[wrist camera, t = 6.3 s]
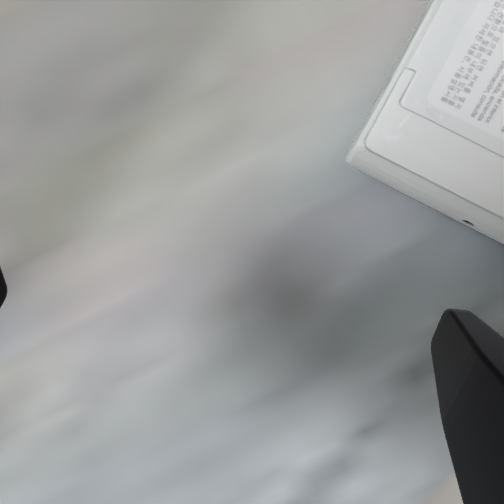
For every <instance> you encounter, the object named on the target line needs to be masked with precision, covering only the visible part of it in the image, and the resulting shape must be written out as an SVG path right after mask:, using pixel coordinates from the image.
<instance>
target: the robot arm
mask: <svg viewBox="0 0 504 504" xmlns="http://www.w3.org/2000/svg"><path fill="white" fill-rule="evenodd" d="M6 295H7V285H6V282H5V279H4V276H3V273H2V270H1V267H0V308H1V306H2V304H3V302H4V300H5V298H6ZM431 353H432V360H433V367H434V373H435V380H436V387H437V394H438V400H439V407H440V413H441V419H442V424H443V428H444V433H445V437H446V440H447V444H448V448H449V452H450V455H451V459H452V463H453V466H454V470H455V474H456V478H457V481H458V485H459V489H460V493H461V496H462V500H463V503H464V504H504V338H503V337H502V336H501V335H499V334H498V333H497V332H496V331H494V330H493V329H492V328H491V327H489V326H488V325H487V324H486V323H484V322H483V321H482V320H481V319H479V318H478V317H477V316H475V315H474V314H473V313H472V312H470V311H467V310H459V309H447V310H446V311H445V312H444V313H443V315H442V317H441V319H440V322H439V324H438V326H437V329H436V331H435V333H434V336H433V338H432V342H431Z"/></svg>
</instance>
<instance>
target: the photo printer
mask: <svg viewBox="0 0 504 504" xmlns="http://www.w3.org/2000/svg"><path fill="white" fill-rule="evenodd" d="M346 163H347V164H348V165H350V166H352V167H353V168H355V169H357V170H359V171H361V172H363V173H365V174H367V175H369V176H371V177H373V178H374V179H376V180H378V181H380V182H382V183H384V184H386V185H388V186H390V187H392V188H394V189H396V190H398V191H400V192H402V193H404V194H406V195H407V196H409V197H411V198H413V199H415V200H417V201H419V202H421V203H423V204H425V205H427V206H429V207H431V208H433V209H435V210H437V211H439V212H441V213H443V214H445V215H447V216H449V217H451V218H453V219H455V220H457V221H459V222H461V223H463V224H464V225H466V226H468V227H470V228H472V229H474V230H476V231H478V232H480V233H482V234H484V235H486V236H488V237H490V238H492V239H494V240H496V241H498V242H500V243H501V244H503V245H504V0H429V2H428V4H427V6H426V8H425V10H424V12H423V13H422V15H421V17H420V19H419V21H418V23H417V25H416V27H415V28H414V30H413V32H412V34H411V36H410V38H409V40H408V42H407V43H406V45H405V47H404V49H403V51H402V53H401V55H400V57H399V58H398V60H397V62H396V64H395V66H394V68H393V70H392V72H391V73H390V75H389V77H388V79H387V81H386V83H385V85H384V87H383V88H382V90H381V92H380V94H379V96H378V98H377V100H376V102H375V103H374V105H373V107H372V109H371V111H370V112H369V114H368V116H367V118H366V119H365V121H364V123H363V125H362V126H361V128H360V130H359V132H358V134H357V135H356V137H355V139H354V141H353V142H352V144H351V146H350V148H349V150H348V151H347V154H346Z"/></svg>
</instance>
